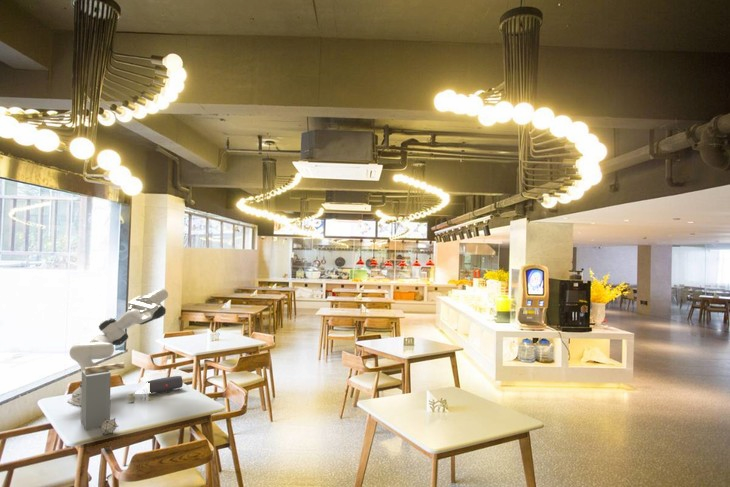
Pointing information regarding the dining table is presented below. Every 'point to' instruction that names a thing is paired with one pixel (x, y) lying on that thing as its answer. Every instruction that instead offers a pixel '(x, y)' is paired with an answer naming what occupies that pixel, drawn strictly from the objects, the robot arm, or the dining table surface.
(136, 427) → the dining table surface
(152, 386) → the bluetooth speaker
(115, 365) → the wooden bar
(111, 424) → the dark-edged faceted part
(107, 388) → the stand
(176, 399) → the dining table surface
